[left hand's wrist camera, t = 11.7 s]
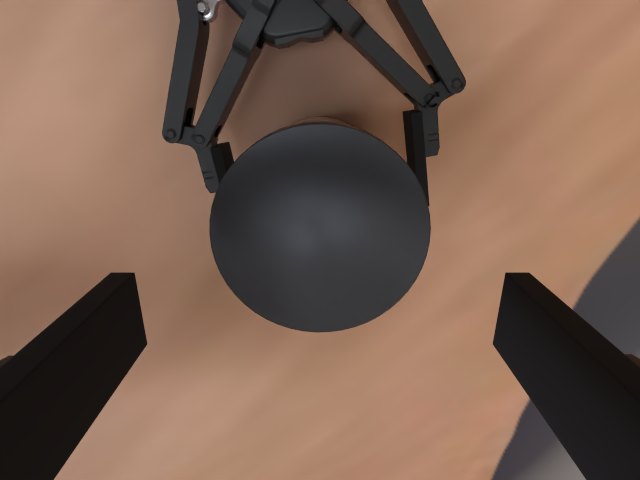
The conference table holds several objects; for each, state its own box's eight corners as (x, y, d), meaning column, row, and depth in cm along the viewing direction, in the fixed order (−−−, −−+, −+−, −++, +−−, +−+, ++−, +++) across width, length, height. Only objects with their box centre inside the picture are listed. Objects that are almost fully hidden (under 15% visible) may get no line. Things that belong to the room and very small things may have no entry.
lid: (395, 327, 23) (401, 345, 22) (210, 300, 23) (201, 316, 21) (446, 141, 20) (458, 146, 18) (227, 102, 19) (218, 103, 17)
